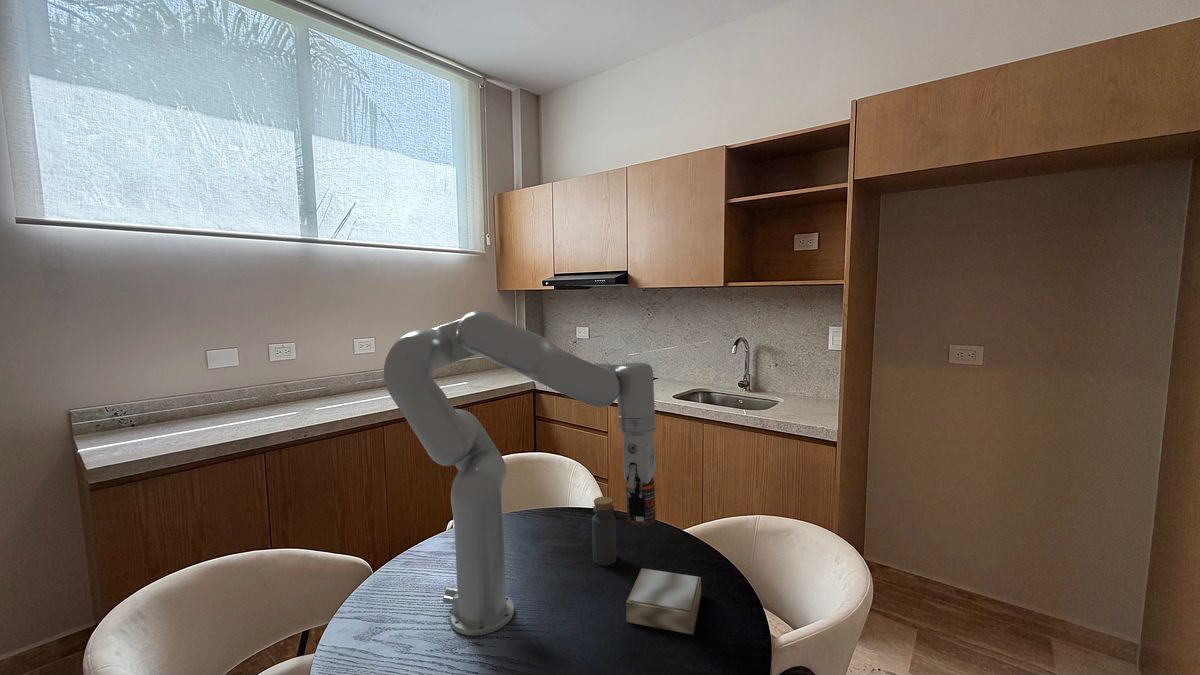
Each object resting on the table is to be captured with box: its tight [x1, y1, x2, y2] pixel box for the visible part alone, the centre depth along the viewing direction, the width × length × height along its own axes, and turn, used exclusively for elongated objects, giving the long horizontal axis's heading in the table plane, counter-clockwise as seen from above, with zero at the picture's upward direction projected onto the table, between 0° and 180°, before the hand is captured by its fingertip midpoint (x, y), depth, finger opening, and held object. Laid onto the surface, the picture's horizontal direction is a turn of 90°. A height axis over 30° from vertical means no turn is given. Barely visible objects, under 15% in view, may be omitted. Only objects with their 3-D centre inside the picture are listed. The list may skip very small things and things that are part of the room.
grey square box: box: [625, 567, 702, 635], centre depth 98 cm, size 13×13×4 cm
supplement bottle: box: [625, 476, 657, 527], centre depth 98 cm, size 6×6×11 cm
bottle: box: [591, 496, 617, 566], centre depth 117 cm, size 6×6×15 cm
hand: (641, 508), depth 99 cm, fingers closed on supplement bottle, 6 cm apart
